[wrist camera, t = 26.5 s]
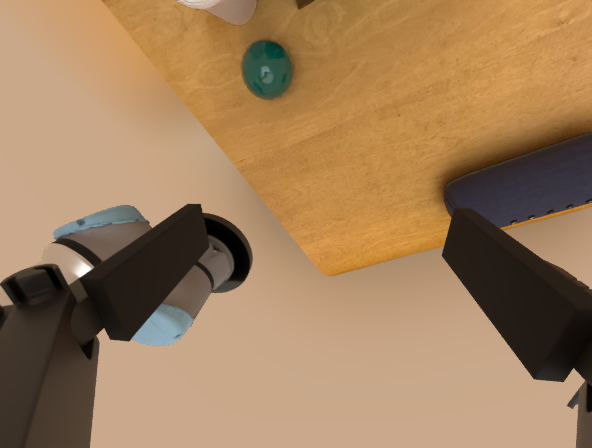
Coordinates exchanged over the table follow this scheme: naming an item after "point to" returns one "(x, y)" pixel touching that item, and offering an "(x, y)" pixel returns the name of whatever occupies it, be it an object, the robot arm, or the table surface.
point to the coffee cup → (226, 9)
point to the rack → (303, 3)
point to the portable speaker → (527, 184)
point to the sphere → (267, 69)
